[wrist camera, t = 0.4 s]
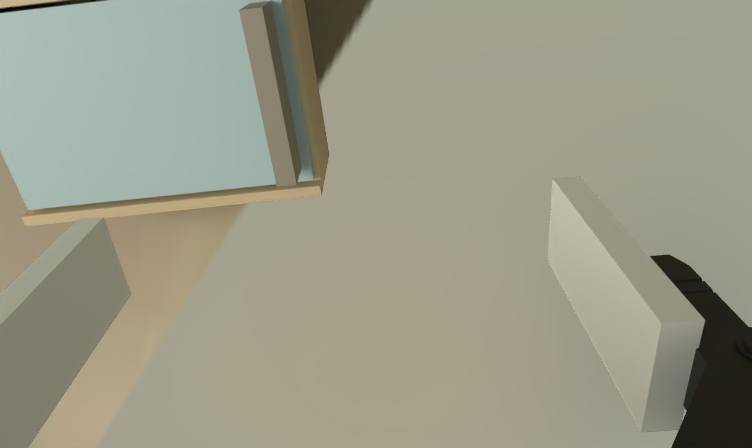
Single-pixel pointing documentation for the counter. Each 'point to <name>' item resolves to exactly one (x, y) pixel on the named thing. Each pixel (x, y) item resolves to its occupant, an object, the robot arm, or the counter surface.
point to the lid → (149, 100)
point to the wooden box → (319, 154)
